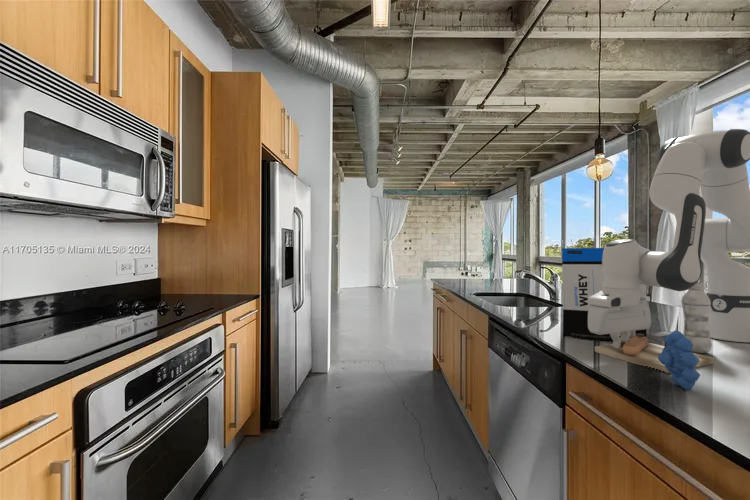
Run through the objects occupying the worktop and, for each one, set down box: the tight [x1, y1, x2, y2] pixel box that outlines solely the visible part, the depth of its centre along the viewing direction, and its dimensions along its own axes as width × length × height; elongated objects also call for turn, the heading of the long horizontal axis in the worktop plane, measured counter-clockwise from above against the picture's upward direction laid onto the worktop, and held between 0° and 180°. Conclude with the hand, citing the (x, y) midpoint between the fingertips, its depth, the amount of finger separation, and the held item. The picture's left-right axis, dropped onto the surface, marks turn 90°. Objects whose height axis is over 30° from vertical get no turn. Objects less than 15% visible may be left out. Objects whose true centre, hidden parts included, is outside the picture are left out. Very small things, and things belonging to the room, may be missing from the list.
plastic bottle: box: [680, 281, 713, 354], centre depth 110 cm, size 6×7×20 cm
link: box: [623, 336, 649, 355], centre depth 108 cm, size 15×4×2 cm, turn 135°
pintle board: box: [594, 330, 715, 374], centre depth 106 cm, size 18×20×6 cm
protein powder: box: [561, 246, 648, 343], centre depth 127 cm, size 10×24×30 cm, turn 71°
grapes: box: [658, 330, 701, 391], centre depth 86 cm, size 12×7×12 cm, turn 166°
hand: (620, 347), depth 107 cm, fingers closed
